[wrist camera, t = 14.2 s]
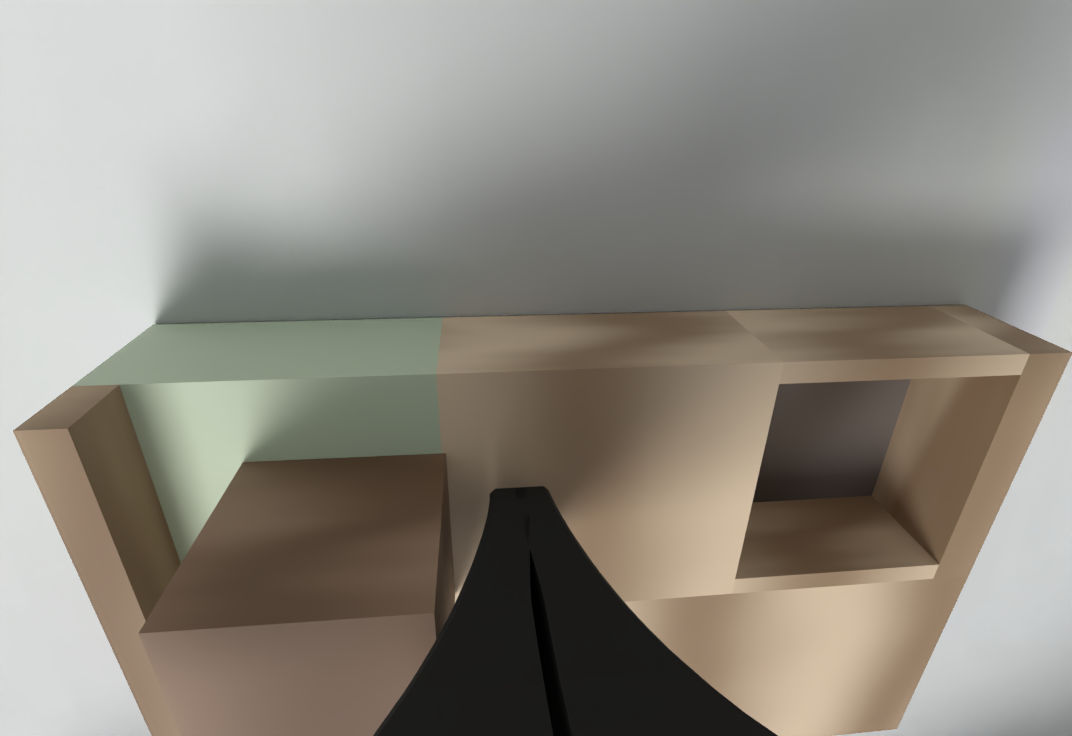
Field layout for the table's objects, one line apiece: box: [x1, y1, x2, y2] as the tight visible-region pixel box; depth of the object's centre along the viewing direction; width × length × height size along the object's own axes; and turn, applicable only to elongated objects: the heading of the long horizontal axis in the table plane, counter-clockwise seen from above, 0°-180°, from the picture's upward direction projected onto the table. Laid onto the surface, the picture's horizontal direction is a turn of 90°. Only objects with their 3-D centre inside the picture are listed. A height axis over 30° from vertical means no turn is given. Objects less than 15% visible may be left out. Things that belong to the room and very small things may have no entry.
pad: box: [73, 317, 443, 563], centre depth 13 cm, size 6×6×3 cm
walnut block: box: [138, 453, 455, 736], centre depth 11 cm, size 4×4×4 cm
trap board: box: [13, 305, 1072, 736], centre depth 15 cm, size 20×13×4 cm, turn 89°
